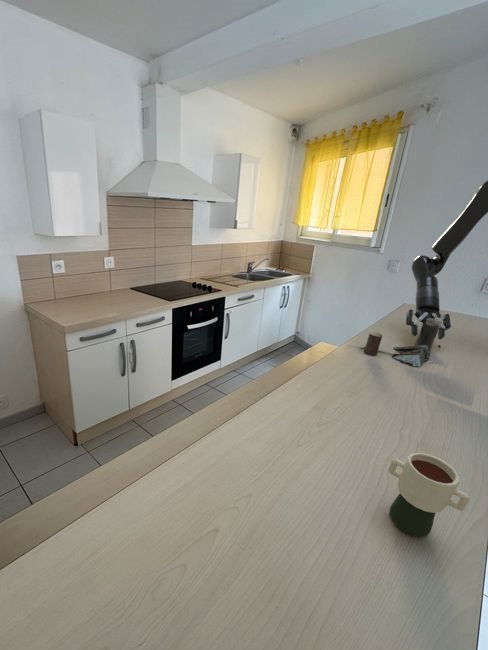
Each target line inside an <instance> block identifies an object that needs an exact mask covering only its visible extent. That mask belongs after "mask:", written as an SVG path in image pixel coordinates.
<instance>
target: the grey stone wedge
mask: <svg viewBox="0 0 488 650" xmlns="http://www.w3.org/2000/svg"><path fill="white" fill-rule="evenodd" d="M392 350H394V351H397V352H398V353H394V354H392V356H391V358H392V359H395V360H398V361H400V363H402V364H405V363H407V364H410V365H412V367H418V368H421V367H422V365H423V364H424V363H427V362H429V360H430V358H431V350H430V351H429V350H428V345H420V346H415V345H408V346H407V345H405V346H404V345H403V346H394V347H393V348H392Z"/></svg>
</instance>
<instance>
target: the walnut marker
mask: <svg viewBox="0 0 488 650" xmlns="http://www.w3.org/2000/svg"><path fill="white" fill-rule="evenodd" d="M382 339H383V334H382V333H379V332H375V331H370V332H369V334H368V336H367V340H366V343H365V347H364V351H363V353H364V354H365V355H368V356H370V355H371V357H376V356H377V355H378V352H379V349H380V346H381V343H382Z"/></svg>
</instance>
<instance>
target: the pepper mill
mask: <svg viewBox="0 0 488 650" xmlns="http://www.w3.org/2000/svg"><path fill="white" fill-rule="evenodd" d="M438 322H439V320H437V319H433V318H427V321H426V322H424V323H421V327H420V331H419V333H418V335H417V339H416V341H415V345H414V346H420V345H428V350H429V351H430V352H431V350H432V348H433V345H434V342H435V340H436V337H437V335H438V331H439V330H438V329H439V325H437V324H438Z"/></svg>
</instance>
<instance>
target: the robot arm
mask: <svg viewBox="0 0 488 650" xmlns="http://www.w3.org/2000/svg"><path fill="white" fill-rule="evenodd" d="M487 214H488V179H487V180H486V181H485V182H483V183H482V184H481V185H480V186H479V188H478V190H477V192H476V193H475V194H474V196H473V197H472V200H470V202H469V204H467V206H466V207H465V209H464V210H463V212H462V213H461V214H460V215H459V216H458V218H457V219H456V220H455V221H454V222H453V223H452V224H451V225H450V226H449V227H448V228H447V229H446V231H444V233H443V234H442V235H441V236H440V237H439V238H438V239H437V240H436V242H434V244H433V245H432V247H431V250H432V251H433V252H434V253H435V256H434V258H433V257H430V256H428V255H424V254H423V255H418V256H417V257H416V258H414V259H413V261H412V264H411V271H412V276H413V279H414V280H415V283H416V293H415V310H413V308H411V309H408V311H407V312H406V316H405V317H406V318H405V325H406V326H409V327H411V334H412V336H413V337H416V336H418V335H419V333H418V331H419V330H418V329H419V326H418V324H420V323H421V324H423V323H424V322H426V321H427V318H433V319H437V320H439V322H438V324H437V325H439V329H438V332H437V338H438V340H443V338H445V336H446V331H448V330H449V329H451V327H452V325H451V316H450V314H449V313H446V314H442V313H440V309H441V307H440V292H439V281H438V278H437V277H436V275H438V274H440V272H442V270H443V269H444V267H445V266H446V263H447V261H448V260H449V258H450V256H451V255H452V254H453V252H454V251H455V250H456V249H457V248H458V247H459V246H460V245H461V244H462V243H463V242H464V240H466V238H467V237H468V236H469V234H470V233H471V232H472V231H473V229H474V228H475V226H477V224H478V223H479V222H480V221H481V220H482V219H483V217H485V216H486V215H487ZM414 316H415V317H416V318H417V319H415V320H414V321H413V317H414Z"/></svg>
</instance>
